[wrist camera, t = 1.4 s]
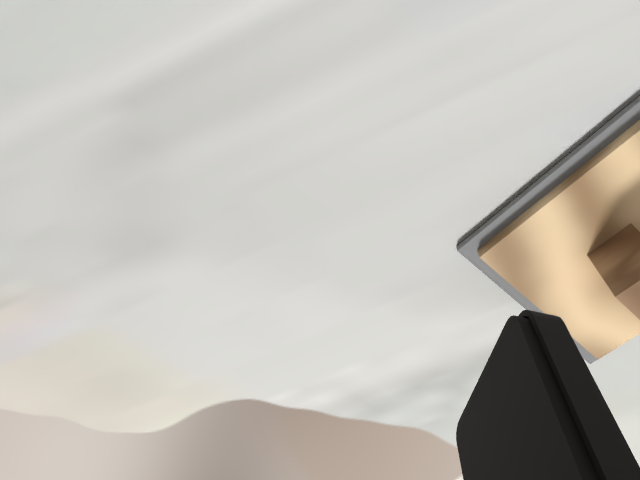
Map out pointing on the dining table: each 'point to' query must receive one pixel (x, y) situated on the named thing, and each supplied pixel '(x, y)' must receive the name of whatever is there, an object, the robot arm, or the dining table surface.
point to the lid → (582, 249)
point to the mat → (537, 191)
